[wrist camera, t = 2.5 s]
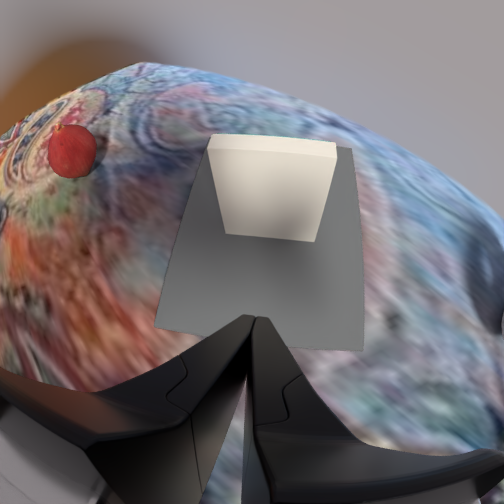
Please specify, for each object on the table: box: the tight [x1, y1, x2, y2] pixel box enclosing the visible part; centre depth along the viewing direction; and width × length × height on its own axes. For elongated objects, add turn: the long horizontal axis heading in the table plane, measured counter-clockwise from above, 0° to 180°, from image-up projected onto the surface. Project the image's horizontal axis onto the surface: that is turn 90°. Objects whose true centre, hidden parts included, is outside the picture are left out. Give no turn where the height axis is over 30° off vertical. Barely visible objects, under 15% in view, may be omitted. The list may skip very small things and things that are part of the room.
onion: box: [48, 122, 97, 178], centre depth 24 cm, size 6×6×8 cm
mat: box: [154, 137, 364, 351], centre depth 23 cm, size 20×15×1 cm
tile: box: [207, 133, 337, 242], centre depth 19 cm, size 2×7×9 cm, turn 82°
